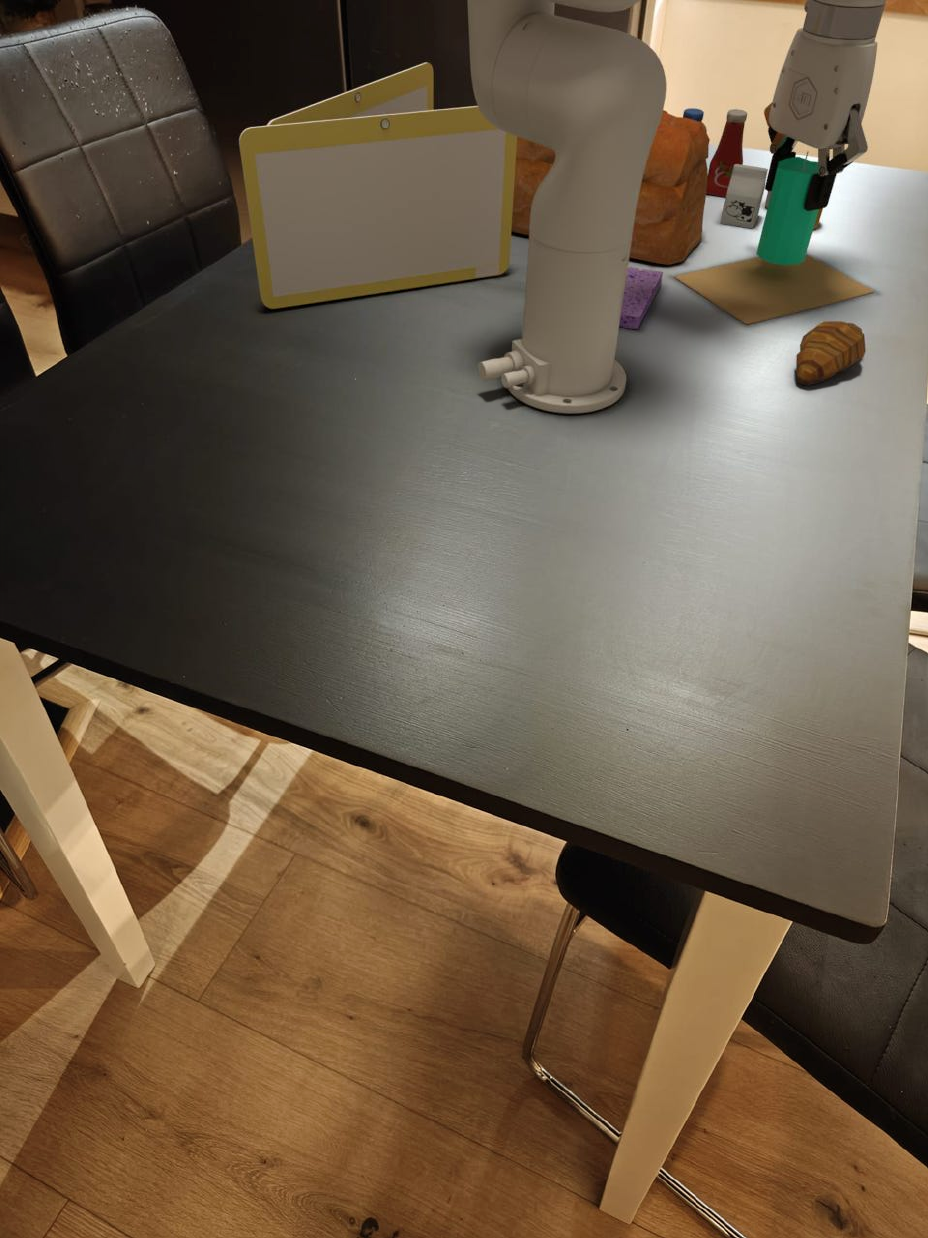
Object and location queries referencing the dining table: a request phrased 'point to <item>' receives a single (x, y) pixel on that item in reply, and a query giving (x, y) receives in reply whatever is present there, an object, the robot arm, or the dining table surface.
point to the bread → (641, 190)
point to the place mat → (771, 287)
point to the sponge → (638, 295)
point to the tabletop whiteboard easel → (377, 194)
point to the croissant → (828, 351)
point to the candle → (788, 214)
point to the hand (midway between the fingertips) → (795, 196)
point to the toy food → (735, 173)
